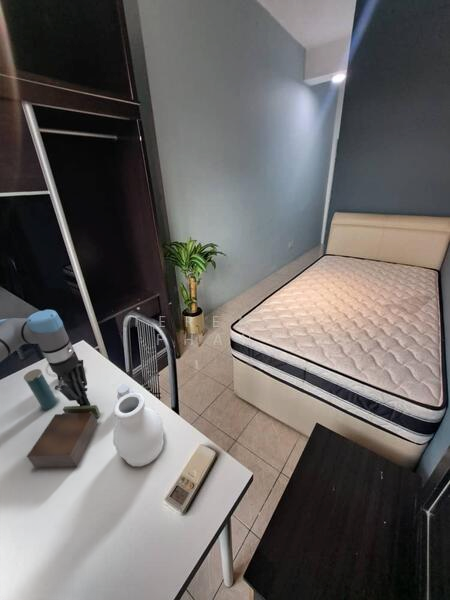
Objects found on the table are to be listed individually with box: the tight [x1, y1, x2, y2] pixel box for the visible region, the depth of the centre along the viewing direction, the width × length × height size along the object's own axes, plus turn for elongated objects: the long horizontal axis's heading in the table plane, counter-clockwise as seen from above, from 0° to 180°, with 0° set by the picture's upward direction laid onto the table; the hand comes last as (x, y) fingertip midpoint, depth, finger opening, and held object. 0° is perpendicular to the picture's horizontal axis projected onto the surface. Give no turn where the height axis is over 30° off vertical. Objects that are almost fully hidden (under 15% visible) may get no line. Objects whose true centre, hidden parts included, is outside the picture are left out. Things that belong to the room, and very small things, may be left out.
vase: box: [112, 392, 165, 467], centre depth 73 cm, size 14×14×20 cm
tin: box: [23, 368, 58, 411], centre depth 90 cm, size 5×5×16 cm
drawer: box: [61, 404, 102, 418], centre depth 82 cm, size 14×11×5 cm
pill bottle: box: [116, 383, 134, 401], centre depth 89 cm, size 5×5×9 cm
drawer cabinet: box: [26, 413, 99, 469], centre depth 77 cm, size 14×13×7 cm
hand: (85, 406), depth 89 cm, fingers closed
